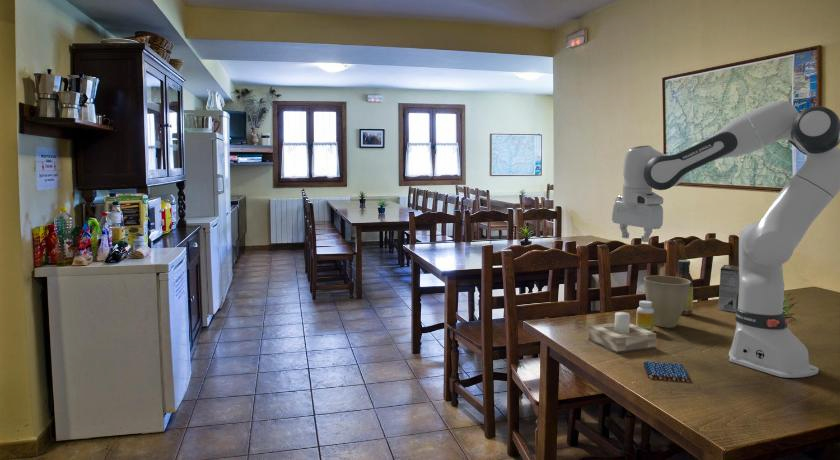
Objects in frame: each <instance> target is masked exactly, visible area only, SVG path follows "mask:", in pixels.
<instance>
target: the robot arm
mask: <svg viewBox="0 0 840 460" xmlns="http://www.w3.org/2000/svg"><path fill="white" fill-rule="evenodd" d="M781 140H782V141H783V140H788V142H789V143H790V144H791V145H792V146H794V147H795V149H797V150H798V151H799V152H800V153H802V154H804V155H805V156H806V159H805V161H804V163H803V164H802V166H800V168H799V169H798V171H796V173H794V175H793V176H792V178H791V179H790V180H789V181H788V182H787V184H785V185H784V187H783V188H782V189H781V190H780V192H779V193H778V194H777V195H776V196H775V197H774V199H773V201H772V203H771V205H770V207H769V208H768V210H767V212H766V213H765V215H763V218H761V220H760V221H755V222H751V223H749V224H747V225H746V226H745V227H743V229H742V230H741V231H740V233H739V236H738V266H739V277H740V283H739V300H738V307H737V308H736V312H735V319H734V320H735V321H736V325H735V331H734V336H733V340H732V343H731V346H730V349H729V352H728V356H729V362H731V363H733V364H737V365H740V366H744V367H746V368H749V369H753V370H757V371H760V372H763V373H767V374H768V375H769V374H770V375H773V376H776V377H780V378H789V379H790V378H794V379H796V378H806V377H811V376H815V375H817V374H819V367H817V366H815V365H813V364H810V357H809V356H810V355H809V351H808V348H807V346H805V344H804V343H802V342H801V340H800V339H799V338H797V337H796V336H795V335H794V333H793V332H792V331H791V330H790V329H789V327H788V324H791V320H792V318H786V315H785V313H784V309H783V308H784V295H785V281H784V280H785V279H784V272H783V264H785V263H786V262H788V261H789V260H790V259H791V257H792V256H793V253H794V251H795V249H796V248H797V246H798V245H799V244H800V242H801V241H802V239H803V237H804V236H805V235H806V233H807V231H808V230H809V228H810V227H811V225H812V224H813V222H814V221H815V220H816V219H817V217H819V215H820V214H821V213H822V212H823V211H824V210H825V209H826V207H827V206H829V204H830V203H831V201H832V200H834V198H835V197H836V196H837V195H838V193H839V192H840V148H839V145H840V117H839V116H838V115H837V113H836V112H835V111H833V110H832V109H831V108H828V107H825V106H819V105H818V106H812V107H807V108H805V109H804V110H802V111H801V112H798V110H797V108H796V107H795V105H793V104H792V103H791V102H788V101H787V100H777V101H774V102H770V103H767V104H764V105H761V106H758V107H756V108H754V109H752V110H750V111H748V112H746V113H744V114H742V115H740V116H738V117H736V118H735V119H733V120H732V121H729V122H728V123H727V124H725V125H724V126H723V127H722V128H720V129H718V131H716V132H715V133H714V134H712V135H710V136H709V137H708V138H706V139H705V140H703V141H700V142H699V143H697V144H695V145H693V146H689V148H687V149H684V150H682V151H680V152H677V153H674V154H671V155H670V154H669V155H668V154H665V153H663V152H660V151H659V150H657V149H655V148H654V147H652V146H651V145H640V146H635V147H632V148H629V149H628V150H627V151H626V152H625V156H624V160H623V172H622V173H623V174H622V175H623V178H624V180H623V181H624V182H623V184H622V194H621V195H618V196H617V197H616V198H615V199H614V204H613V208H612V215H611V220H612V223H613V224H618V225H619V229H620V231H621V238H623V239H630V233H629V231H628V226H629V227H630V226H631V227H637V228H643V232H644V233H643V235H641V242H642V243H649V242H650V236H651V234H652V233H653V230H659V229H662V227H663V223H664V222H663V221H664V210H663V209H664V208H663V206H662V205H663V204H664V198H663V197H662V196H661V195H659V194H657V193H656V192H654V191H653V189H654V190H656V191H665V190H669V189H671V188H672V187H673V188H674V187H675V186H677V185H679V184H680V183H681V182H682V181H683V180H684V179H685V176H686V174H688V173H690V172H692V171H694V170H696V169H699V168H700V167H702V166H704V165H706V164H709V163H711V162H714V161H717V160H721V159H726V158H731V157H732V158H734V157H739V156H743V155H747V154H750V153H753V152H756V151H758V150H760V149H763V148H765V147H768V146H770V145H772V144H774V143H776V142H779V141H781Z"/></svg>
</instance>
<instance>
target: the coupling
mask: <svg viewBox="0 0 840 460" xmlns="http://www.w3.org/2000/svg"><path fill="white" fill-rule="evenodd" d="M630 321H631V313H629V312H626V311H625V312H624V311H618V312H615V313H614V323H615V327H614V332H615V333H617V334H619V335H620V334H628V333H629V328H630V324H631V322H630Z"/></svg>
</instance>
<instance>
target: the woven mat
mask: <svg viewBox="0 0 840 460" xmlns="http://www.w3.org/2000/svg"><path fill="white" fill-rule="evenodd" d="M643 367H644V371H645V373H646V375H647V378H648V379H650V380H652V379H655V380H657V379H659V380H662V379H663V380H665V381H666V380H667V381H673V382H674V381H678V382H680V381H682V382H685V381H686V382H687V383H688V382H690V380H691V378H690V376H689V374H688V372H687V370H686V369H685V366H684V365H683V364H682V363H681V364H679V363H671V362H669V363H668V362H659V361H658V362H657V361H656V362H655V361H649V360H648V361H644V362H643Z"/></svg>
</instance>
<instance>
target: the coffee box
mask: <svg viewBox="0 0 840 460" xmlns="http://www.w3.org/2000/svg"><path fill="white" fill-rule="evenodd" d="M719 274H720V275H719V289H718V290H719V292H718V307H717V308H718V310H720V311H725V312H726V311H727V312H733V313H734V312H735V313H736V308H737V307H738V300H739V283H740V277H739V265H738V266H736V265H733V264H732V265H729V264H724V265H722V267H721V268H720V273H719Z"/></svg>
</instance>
